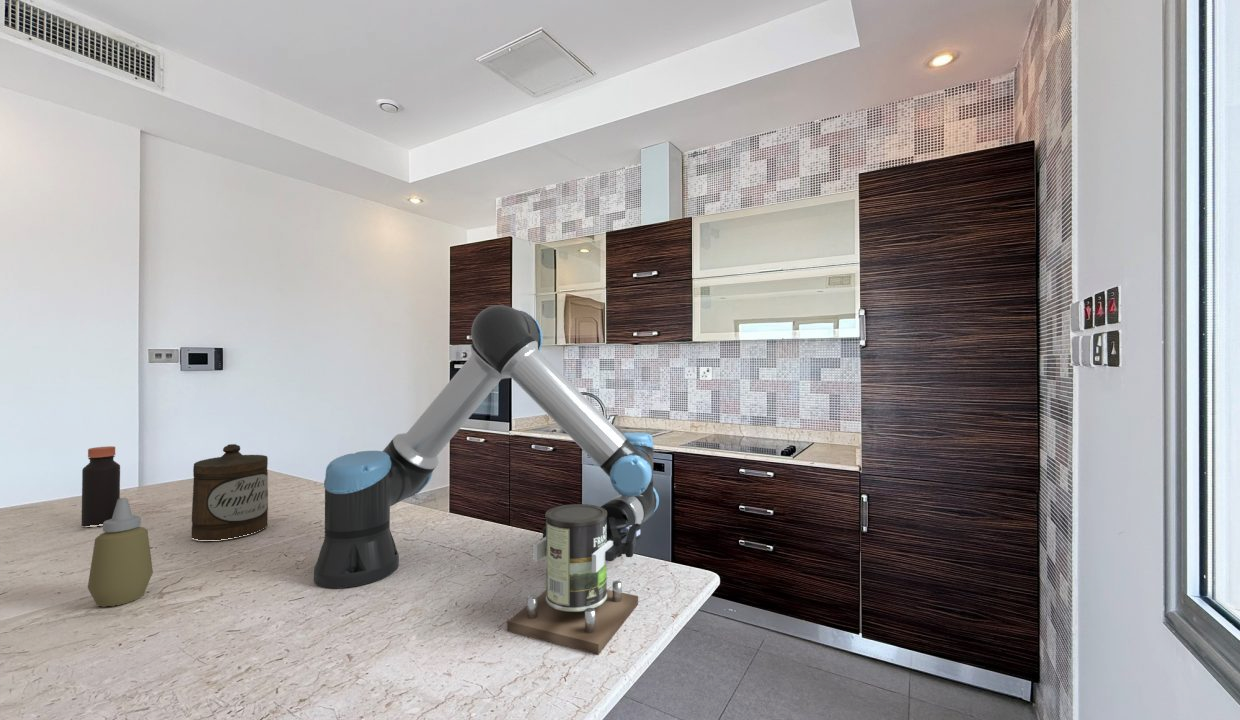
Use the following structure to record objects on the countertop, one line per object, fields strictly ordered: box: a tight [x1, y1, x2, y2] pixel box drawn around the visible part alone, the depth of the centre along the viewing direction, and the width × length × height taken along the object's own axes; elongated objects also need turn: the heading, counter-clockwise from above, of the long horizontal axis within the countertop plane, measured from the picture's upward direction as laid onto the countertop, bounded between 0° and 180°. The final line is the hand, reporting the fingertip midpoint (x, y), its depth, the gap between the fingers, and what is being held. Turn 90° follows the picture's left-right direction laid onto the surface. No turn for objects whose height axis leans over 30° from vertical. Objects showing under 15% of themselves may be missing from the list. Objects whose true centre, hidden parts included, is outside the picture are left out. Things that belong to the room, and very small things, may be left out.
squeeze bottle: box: [87, 497, 154, 608], centre depth 86 cm, size 8×8×18 cm
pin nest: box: [506, 579, 639, 655], centre depth 81 cm, size 16×16×4 cm
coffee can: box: [544, 503, 608, 612], centre depth 81 cm, size 10×10×14 cm
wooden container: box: [191, 443, 269, 540], centre depth 121 cm, size 15×15×22 cm
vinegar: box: [81, 446, 121, 527], centre depth 127 cm, size 7×7×20 cm
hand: (563, 558), depth 77 cm, fingers closed on coffee can, 10 cm apart
